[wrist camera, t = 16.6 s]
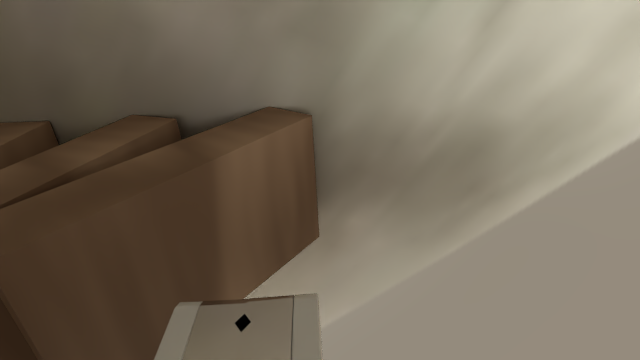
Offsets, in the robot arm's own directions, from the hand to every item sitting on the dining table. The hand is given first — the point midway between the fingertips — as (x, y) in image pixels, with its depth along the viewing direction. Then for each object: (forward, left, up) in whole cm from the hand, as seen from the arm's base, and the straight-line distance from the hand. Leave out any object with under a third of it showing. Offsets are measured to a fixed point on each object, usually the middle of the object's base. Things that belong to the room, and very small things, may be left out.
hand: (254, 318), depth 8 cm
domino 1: (+1, 0, -7) cm, 7 cm away
